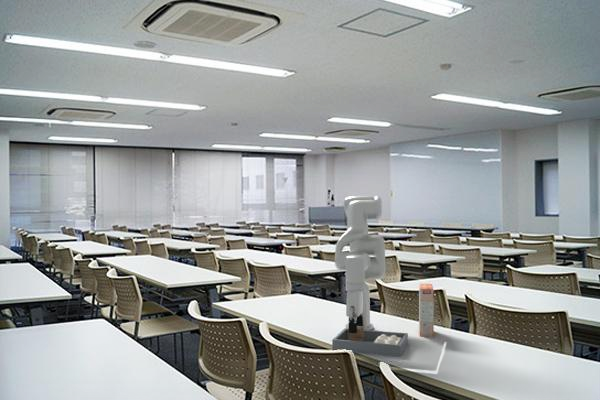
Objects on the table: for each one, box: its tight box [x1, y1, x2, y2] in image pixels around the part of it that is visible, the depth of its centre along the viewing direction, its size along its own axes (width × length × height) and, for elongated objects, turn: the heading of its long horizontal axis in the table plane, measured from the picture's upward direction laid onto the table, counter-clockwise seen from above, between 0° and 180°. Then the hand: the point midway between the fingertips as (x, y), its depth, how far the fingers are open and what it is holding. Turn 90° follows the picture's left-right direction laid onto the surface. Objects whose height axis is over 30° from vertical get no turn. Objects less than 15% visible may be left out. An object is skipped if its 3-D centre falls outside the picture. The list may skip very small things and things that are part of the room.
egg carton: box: [374, 334, 401, 345], centre depth 202 cm, size 11×9×4 cm
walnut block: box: [348, 326, 364, 342], centre depth 206 cm, size 5×5×7 cm
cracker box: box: [418, 283, 435, 339], centre depth 225 cm, size 14×6×21 cm, turn 168°
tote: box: [331, 328, 409, 358], centre depth 204 cm, size 18×26×5 cm
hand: (355, 329), depth 207 cm, fingers open, 9 cm apart
